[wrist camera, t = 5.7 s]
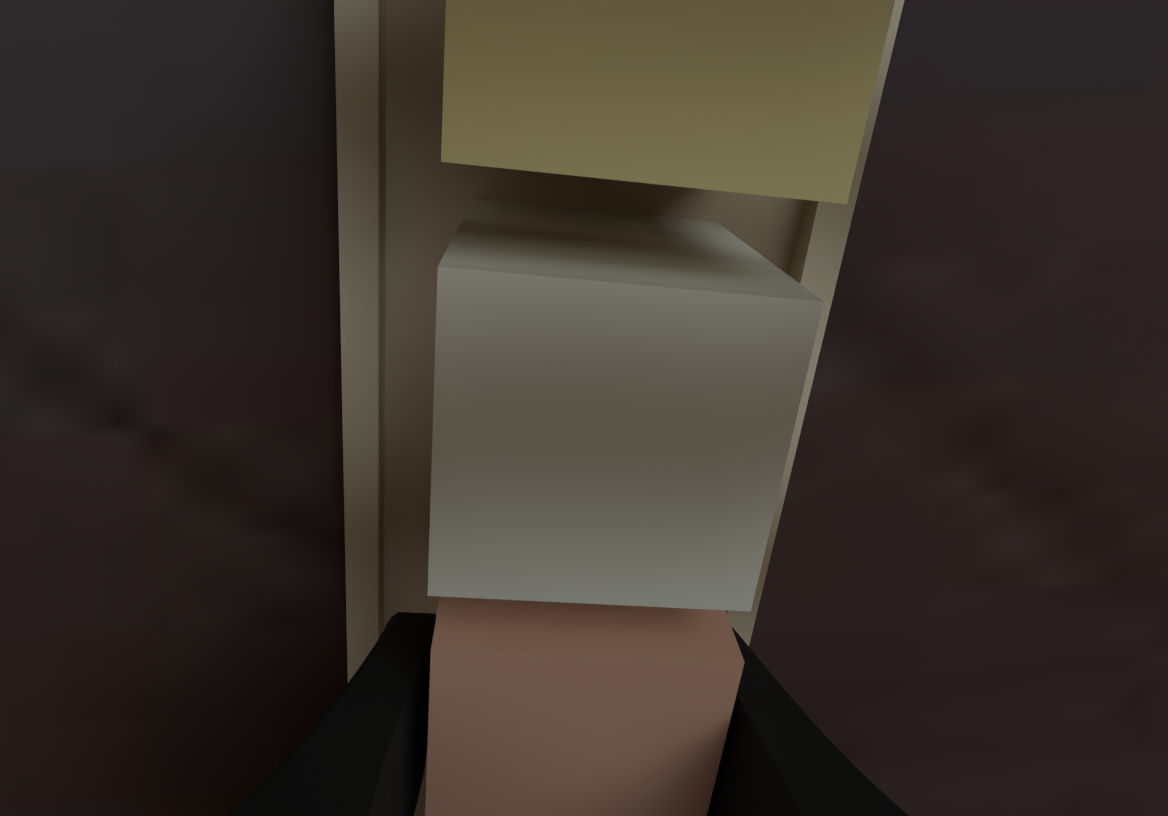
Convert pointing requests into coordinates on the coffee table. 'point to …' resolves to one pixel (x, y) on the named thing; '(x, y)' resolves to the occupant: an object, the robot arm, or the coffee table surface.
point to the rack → (586, 290)
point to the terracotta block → (577, 708)
